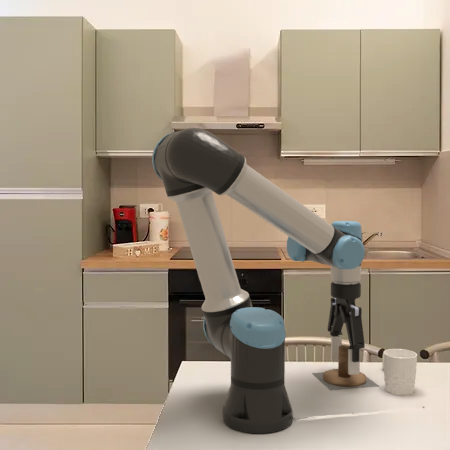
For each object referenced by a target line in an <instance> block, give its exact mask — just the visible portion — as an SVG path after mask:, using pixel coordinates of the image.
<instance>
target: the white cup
mask: <svg viewBox="0 0 450 450" xmlns="http://www.w3.org/2000/svg"><path fill="white" fill-rule="evenodd" d="M383 355H384V371H383V377H384V390H385V391H386V392H387V393H389V394H392V395H397V396H410V395H413V394H414V393H415V384H416V378H417V377H416V375H417V364H418V363H417V362H418V353H416V352H415V351H412V350H410V349H404V348H389V349H385V350H383V353H382V356H383Z"/></svg>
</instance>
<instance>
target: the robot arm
mask: <svg viewBox="0 0 450 450" xmlns="http://www.w3.org/2000/svg"><path fill="white" fill-rule="evenodd" d="M151 162H152V167H153V170H154V172H155V174H156V175H157V177H158V178H159V179H160V180H161V181H162V183H163V187H164V190H165V193H166V196H167V198H168V199H170V200H171V201H173V202H175V203H176V206H177V209H178V212H179V213H178V214H179V216H180V217H179V218H180V220H181V222H182V227H183V229H184V230H183V231H184V233H185V236H186V238H187V242H188V243H187V244H188V246H189V249H190V253H191V255H192V259H193V262H194V265H195V269H196V271H197V276H198V280H199V282H200V285H201V289H202V292H203V295H204V298H205V300H204V302H203V303H202V305H201V311H202V314H203V321H202V322H203V323H202V329H203V332H204V335H205V337H206V339H207V342H208V343H209V344H210V345H211V346H212V347H213V348H215V349H216V350H217V351H218V352H219V351H220V352H221V353H222V354H224V355H225V356H226V357H228V358H229V359H230V386H229V389H228V391H227V394H226V398H225V401H224V404H223V407H222V420H223V421H222V422H223V423H224V424H225V425H226V426H227V427H229V428H230V429H234V430H236V431H239V432H242V433H243V432H244V433H249V434H268V433H269V434H271V433H274V432H279V431H282V430H284V429H287V428H288V427H290V426H291V425H292V423H293V407H292V404H291V402H290V398H289V395H288V392H287V389H286V385H285V375H286V374H285V373H286V372H285V371H286V370H285V368H286V367H285V365H286V362H285V361H286V358H285V357H286V335H287V333H286V327H285V321H284V318H283V316H282V315H280V314H279V313H278V312H276V311H275V310H273V309H265V308H264V307H259V306H257V307H256V306H255V307H253V304H252V300H251V297H250V294H249V292H248V291H246V290H244V289H242V288H241V285H240V282H239V278H238V275H237V272H236V269H235V265H234V262H233V258H232V255H231V252H230V247H229V245H228V241H227V238H226V235H225V234H226V233H225V231H224V227H223V224H222V221H221V217H220V214H219V211H218V206H217V203H216V200H215V196H214V193H215V194H217V195H218V196H224V195H226V196H229V197H230V198H231V199H233V200H234V201H236V202H237V203H239V204H240V205H241V206H243V207H245V208H246V209H247V210H249V211H251V212H252V213H253V214H255V215H257V216H258V217H259V218H261V219H262V220H264V221H265V222H266V223H269V225H270V226H272V227H274V228H275V229H277V230H279V231H280V232H282V233H284V234H285V235H286V236H287V239H286V252H287V255H288V257H289V259H290V260H291V261H293V262H302V263H305V262H313V263H318V264H322V265H326V266H329V267H330V280H331V283H330V296H331V298H330V309H329V317H328V324H327V332H329V335H330V336H331V337H330V338H331V339H330V361H331V362H338V355H339V346H341V345H343V336H342V335H343V331H342V330H343V326H344V324H345V328H346V333H347V338H348V342H349V345H348V346H349V347H348V374H349V375H352V374H360V372H361V371H360V370H361V369H360V368H361V366H360V365H361V362H360V360H361V357H360V356H361V349H365V346H366V345H365V344H366V343H365V337H364V329H363V328H364V327H363V320H362V319H363V318H362V307H359V306H358V307H357V305H356V299H359V298H361V295H362V283H360V281H361V280H362V271H363V268H362V262H363V260H364V258H365V253H366V251H365V246H364V243H363V235H362V233H363V230H362V225H361V223H360V222H359V221H355V220H335V221H332V223H329V222H328V221H326V220H325V219H323V218H322V217H321V216H319V215H318V214H317V213H315V212H314V211H313V210H311V209H310V208H308V207H307V206H306V205H304V204H302V203H301V202H300V201H298V200H297V199H296V198H294V197H293V196H291V195H290V194H289V193H288V192H286V191H284V190H283V189H282V188H280V187H279V186H278V185H276V184H275V183H273V182H272V181H270V180H269V179H268V178H266V177H265V176H263V175H262V174H261V173H260V172H258V171H257V170H255V169H254V168H252V167H251V166H249V164H247V158H246V157H245V156H244V155H243V154H241V152H238V151H237V150H236V149H234V148H233V147H232V146H230V145H229V144H227V142H225V141H224V140H222V139H221V138H220V137H217V136H216V135H215V134H213V133H212V132H210V131H208V130H205V129H202V128H198V127H197V128H196V127H189V128H185V129H182V130H178V131H173V132H170V133H167V134H166V135H164V136H163V137H162V138H161V139H160V140H159V141H158V142H157V143H156V145H155V146H154V149H153V151H152V155H151ZM213 192H214V193H213Z"/></svg>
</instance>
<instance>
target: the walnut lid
mask: <svg viewBox="0 0 450 450" xmlns="http://www.w3.org/2000/svg"><path fill="white" fill-rule="evenodd" d="M349 346H350V345H345V344H344V345H343V344H342V345H341V346H339V355H338V361H337V362H338V367H337V368H332V369H328V370H325V371H324V373H323V380H324V381H325V382H327V383H329V384H332V385H335V386H342V387H356V386H361V385H363V384H365V383H366V377H367V375H366V374H365V373H364V372H361V371H360V374H352V375H349V374H348V347H349Z"/></svg>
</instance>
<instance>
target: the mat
mask: <svg viewBox="0 0 450 450" xmlns="http://www.w3.org/2000/svg"><path fill="white" fill-rule="evenodd" d="M324 372H325V371H324ZM324 372H321V371H320V372H312V373H311V374H312V375H313V376H314V377H315V378H316V379H317V380H318V381H319V382H320V383H322V384H323V385H324V386H325V387H326V388H327V389H328V390H329V391H340V390H351V389H362V388H364V389H365V388H376V387H377V388H378V387H379V388H380V385H379V384H377V383H376V382H374V381H373V380H372V379H371V378H369V377H368V376H366V383H365V384H363V385H361V386H356V387H342V386H335V385H332V384H329V383H327V382H325V381H324V380H323V373H324Z"/></svg>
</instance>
